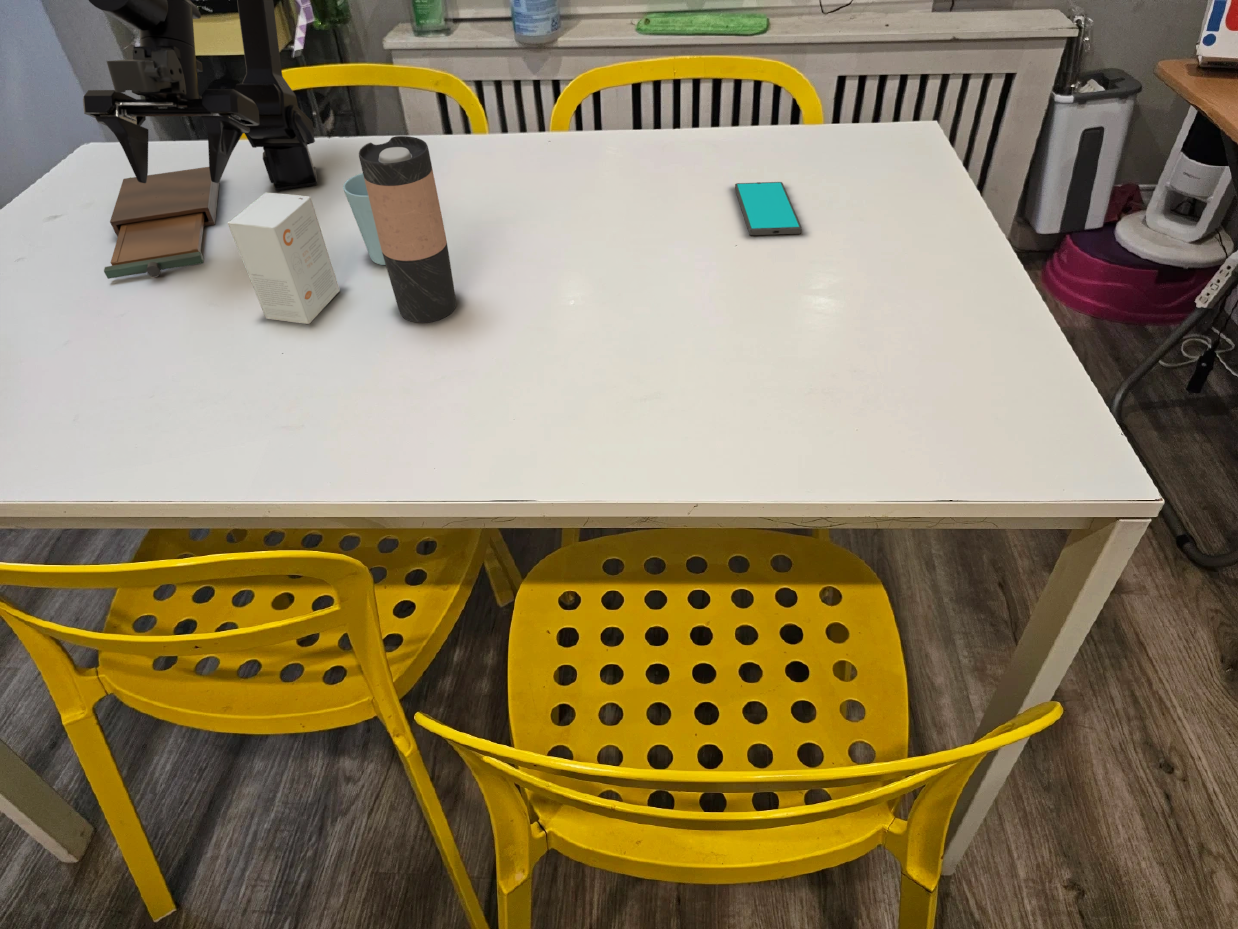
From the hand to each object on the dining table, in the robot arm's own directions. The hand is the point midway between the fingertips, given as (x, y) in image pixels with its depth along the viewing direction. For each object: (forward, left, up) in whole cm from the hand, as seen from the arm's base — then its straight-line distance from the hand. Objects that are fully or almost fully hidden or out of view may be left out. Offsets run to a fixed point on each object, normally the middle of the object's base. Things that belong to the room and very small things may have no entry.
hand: (178, 182), depth 97 cm
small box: (-11, +11, -13) cm, 20 cm away
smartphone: (-77, +8, -13) cm, 78 cm away
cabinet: (+8, -24, -13) cm, 29 cm away
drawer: (+8, -10, -13) cm, 18 cm away
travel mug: (-26, +17, -13) cm, 33 cm away
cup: (-23, +2, -14) cm, 26 cm away
